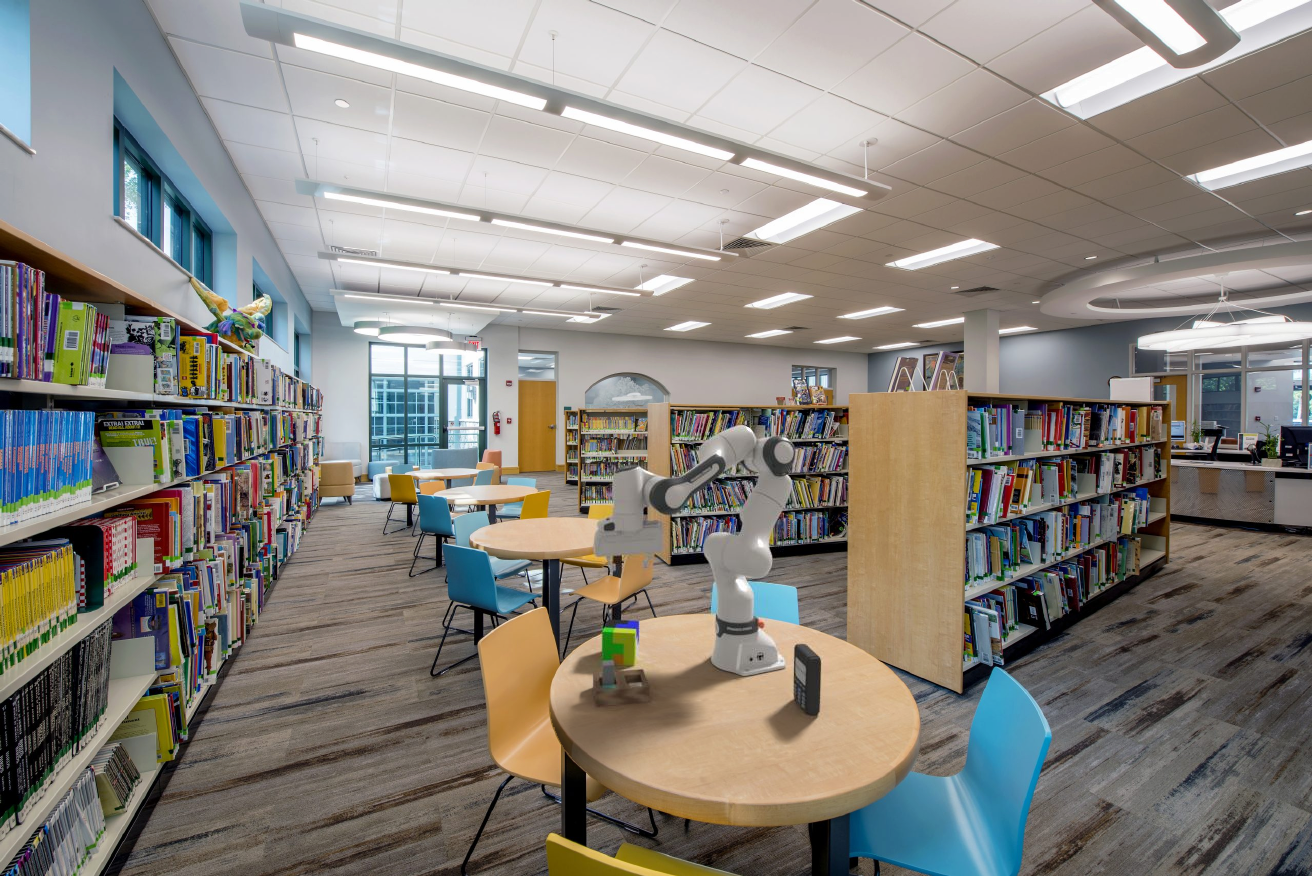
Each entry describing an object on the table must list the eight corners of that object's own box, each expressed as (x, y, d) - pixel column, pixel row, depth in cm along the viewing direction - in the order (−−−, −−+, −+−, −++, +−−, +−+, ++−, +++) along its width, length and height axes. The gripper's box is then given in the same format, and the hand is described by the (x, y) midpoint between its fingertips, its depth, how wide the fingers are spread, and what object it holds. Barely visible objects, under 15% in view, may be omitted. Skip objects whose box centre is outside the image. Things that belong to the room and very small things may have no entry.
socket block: (642, 683, 150) (642, 668, 150) (649, 701, 140) (649, 686, 140) (593, 687, 147) (593, 672, 147) (596, 706, 137) (596, 690, 137)
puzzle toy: (638, 651, 170) (639, 620, 170) (634, 666, 160) (634, 633, 160) (608, 649, 171) (608, 619, 171) (601, 664, 161) (602, 631, 161)
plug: (612, 692, 145) (613, 659, 144) (614, 698, 142) (614, 665, 141) (601, 693, 144) (602, 660, 144) (602, 699, 141) (603, 665, 141)
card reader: (790, 697, 143) (792, 643, 142) (804, 696, 144) (806, 642, 143) (806, 716, 134) (807, 658, 133) (821, 715, 135) (822, 657, 134)
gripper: (661, 517, 158) (661, 563, 159) (592, 521, 153) (593, 568, 154) (665, 521, 152) (666, 569, 152) (594, 526, 147) (595, 575, 148)
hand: (629, 569), depth 153 cm, fingers open, 8 cm apart
